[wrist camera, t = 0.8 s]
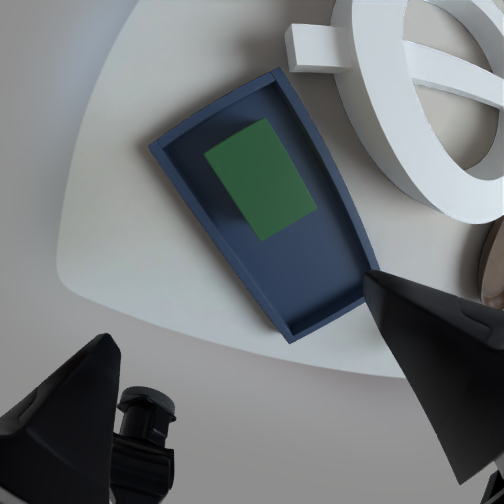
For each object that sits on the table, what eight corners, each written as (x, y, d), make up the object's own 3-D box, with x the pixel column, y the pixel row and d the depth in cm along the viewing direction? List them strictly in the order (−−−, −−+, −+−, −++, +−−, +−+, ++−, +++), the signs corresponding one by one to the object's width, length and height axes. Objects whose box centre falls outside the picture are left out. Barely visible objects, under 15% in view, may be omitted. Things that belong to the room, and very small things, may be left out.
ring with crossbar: (529, 114, 19) (552, 118, 14) (444, 257, 26) (470, 276, 22) (410, -54, 10) (430, -68, 6) (259, 57, 17) (268, 38, 13)
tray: (285, 332, 28) (289, 344, 26) (154, 145, 20) (147, 146, 18) (378, 279, 26) (386, 288, 25) (275, 72, 18) (279, 66, 16)
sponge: (254, 224, 22) (260, 242, 19) (207, 150, 20) (202, 153, 16) (302, 196, 22) (317, 208, 18) (258, 120, 19) (265, 116, 16)
